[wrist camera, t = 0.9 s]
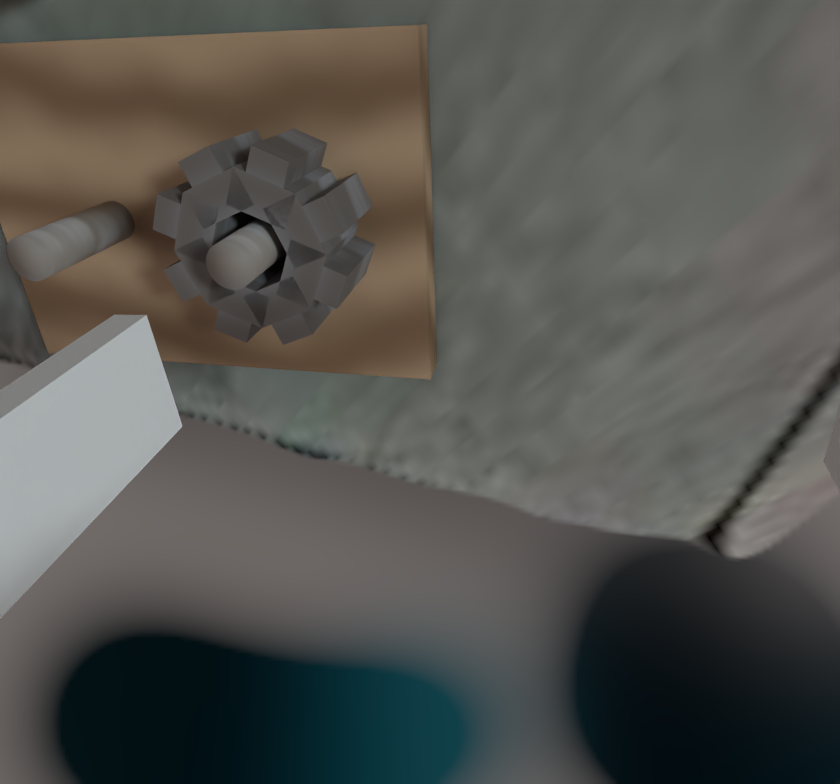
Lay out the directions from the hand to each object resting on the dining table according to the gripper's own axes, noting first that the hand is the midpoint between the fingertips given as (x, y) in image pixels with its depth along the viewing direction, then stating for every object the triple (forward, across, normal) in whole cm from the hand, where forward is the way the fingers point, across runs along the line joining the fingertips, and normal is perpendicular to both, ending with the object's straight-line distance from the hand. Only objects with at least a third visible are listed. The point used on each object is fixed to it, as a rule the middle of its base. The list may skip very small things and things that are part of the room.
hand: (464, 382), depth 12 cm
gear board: (+23, -18, -3) cm, 30 cm away
